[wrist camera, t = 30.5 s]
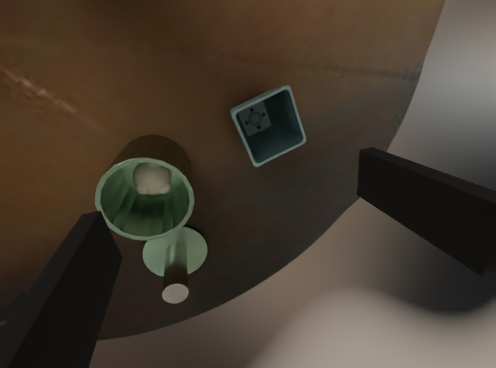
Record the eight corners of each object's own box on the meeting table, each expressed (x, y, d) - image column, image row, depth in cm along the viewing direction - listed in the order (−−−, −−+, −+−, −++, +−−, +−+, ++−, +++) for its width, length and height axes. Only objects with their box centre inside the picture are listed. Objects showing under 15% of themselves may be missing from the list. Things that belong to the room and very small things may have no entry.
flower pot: (241, 152, 44) (255, 168, 36) (220, 105, 40) (230, 112, 32) (284, 130, 44) (307, 142, 36) (267, 82, 40) (289, 83, 32)
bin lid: (130, 240, 45) (117, 286, 35) (191, 213, 46) (194, 250, 36) (162, 282, 50) (158, 332, 40) (216, 257, 51) (225, 300, 41)
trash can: (103, 152, 38) (72, 182, 27) (170, 124, 39) (167, 142, 28) (141, 208, 43) (129, 253, 32) (200, 182, 44) (208, 217, 33)
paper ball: (128, 164, 39) (121, 177, 34) (159, 147, 39) (156, 158, 34) (149, 192, 42) (145, 208, 37) (178, 176, 42) (179, 190, 37)
